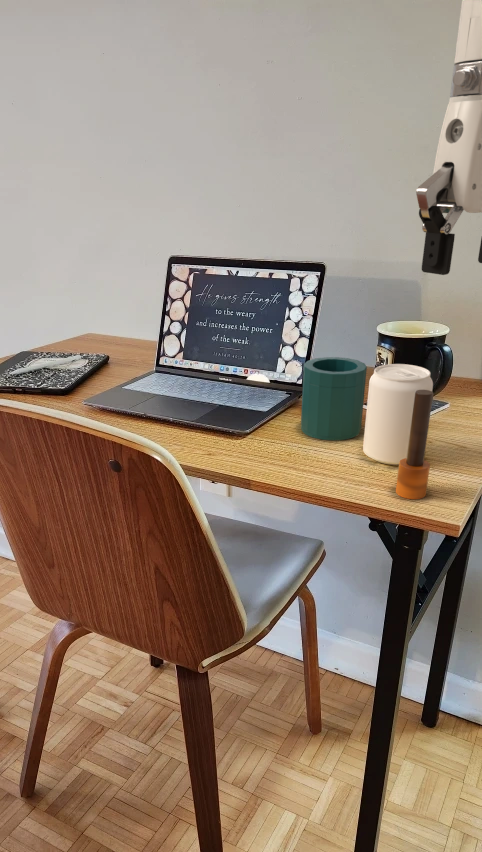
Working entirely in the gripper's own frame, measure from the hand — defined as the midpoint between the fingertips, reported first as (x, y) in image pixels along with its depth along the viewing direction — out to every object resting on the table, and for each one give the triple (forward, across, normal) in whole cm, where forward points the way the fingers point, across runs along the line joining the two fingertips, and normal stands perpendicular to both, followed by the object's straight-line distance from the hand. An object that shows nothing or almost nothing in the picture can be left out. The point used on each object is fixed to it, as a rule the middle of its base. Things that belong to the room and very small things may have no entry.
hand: (464, 268), depth 75 cm
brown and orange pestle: (+26, -4, 0) cm, 27 cm away
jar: (+26, +4, +22) cm, 34 cm away
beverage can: (+26, +3, +9) cm, 28 cm away
